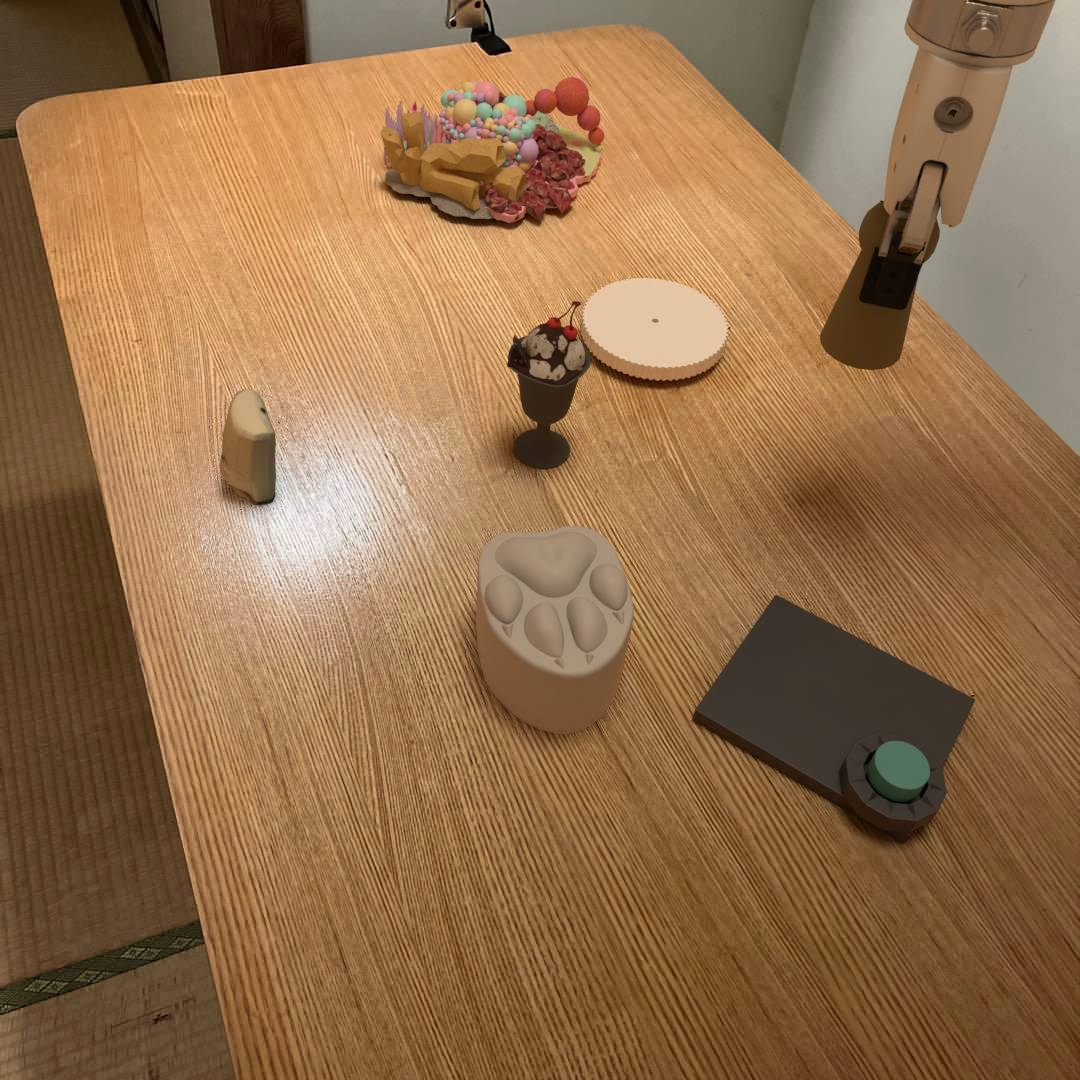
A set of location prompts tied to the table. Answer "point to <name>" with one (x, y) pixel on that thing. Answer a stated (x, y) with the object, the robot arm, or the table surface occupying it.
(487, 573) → the lumpy-topped squat cylinder
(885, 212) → the brown game pawn
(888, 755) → the scale button
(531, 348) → the sundae
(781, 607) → the scale
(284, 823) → the table surface
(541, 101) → the candy landscape model
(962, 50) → the robot arm
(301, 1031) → the table surface
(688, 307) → the plastic lid
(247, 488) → the tan tall rounded block
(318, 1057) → the table surface
